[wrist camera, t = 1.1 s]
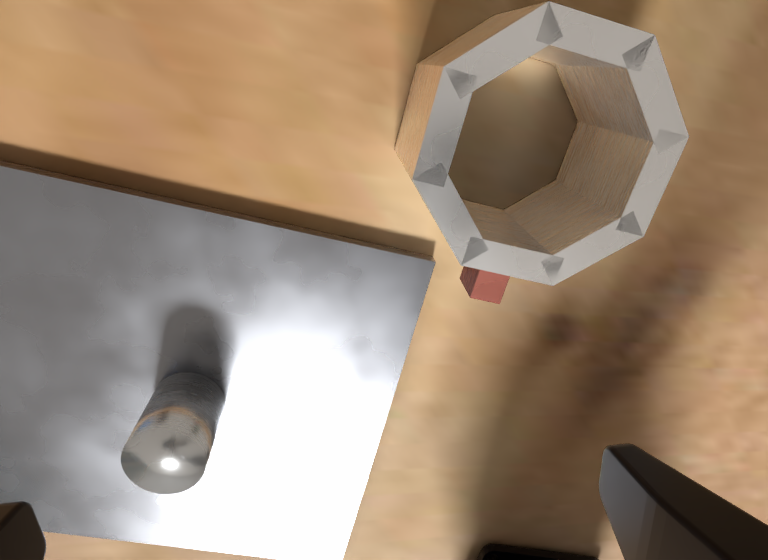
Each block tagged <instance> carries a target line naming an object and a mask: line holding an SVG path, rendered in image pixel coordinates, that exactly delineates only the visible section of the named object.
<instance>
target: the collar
mask: <svg viewBox="0 0 768 560" xmlns="http://www.w3.org/2000/svg"><path fill="white" fill-rule="evenodd" d="M527 58H533V59H536V60H539V61H543V62H546V63H550V64H553V65H555V67H556V70H557V72H558V75H559V77H560V79H561V82H562V84H563V87H564V89H565V91H566V94H567V96H568V99H569V101H570V103H571V106H572V108H573V111H574V113H575V115H576V118H577V120H578V122H577V125H576V128H575V130H574V133H573V136H572V138H571V141H570V144H569V146H568V149H567V152H566V154H565V157H564V159H563V162H562V165H561V167H560V170H559V173H558V175H557V178H556V180H555V181H553V182H551V183H550V184H548V185H546V186H544V187H543V188H541V189H539V190H537V191H536V192H534V193H532V194H530V195H529V196H527V197H525V198H523V199H522V200H520V201H518V202H516V203H515V204H513V205H511V206H509V207H508V208H506V209H504V210H503V209H499V208H495V207H491V206H487V205H483V204H479V203H475V202H470V201H466V200H462V199H461V197H460V196H459V194H458V192H457V190H456V188H455V186H454V184H453V183H452V181H451V179H450V177H449V175H448V172H449V169H450V166H451V162H452V159H453V156H454V152H455V149H456V146H457V143H458V139H459V136H460V133H461V129H462V126H463V123H464V119H465V116H466V113H467V110H468V106H469V103H470V100H471V96H472V93H473V91H475V90H476V89H478V88H480V87H481V86H483V85H485V84H486V83H488V82H489V81H491V80H493V79H494V78H496V77H498V76H499V75H501V74H503V73H504V72H506V71H507V70H509V69H511V68H512V67H514V66H516V65H517V64H519V63H521V62H522V61H524V60H525V59H527ZM688 138H689V135H688V132H687V129H686V126H685V123H684V120H683V117H682V114H681V111H680V108H679V105H678V102H677V99H676V96H675V93H674V90H673V87H672V84H671V81H670V78H669V75H668V72H667V69H666V66H665V63H664V60H663V57H662V54H661V51H660V48H659V45H658V42H657V39H656V36H655V35H654V34H651V33H648V32H645V31H641V30H638V29H635V28H632V27H629V26H626V25H623V24H619V23H616V22H613V21H610V20H607V19H604V18H601V17H597V16H594V15H591V14H588V13H585V12H582V11H579V10H575V9H572V8H569V7H566V6H563V5H560V4H557V3H553V2H550V1H547V2H543V3H539V4H536V5H532V6H528V7H524V8H520V9H516V10H512V11H508V12H505V13H501V14H497V15H494V16H492V17H490V18H489V19H487V20H486V21H484V22H482V23H481V24H479V25H478V26H476V27H474V28H473V29H471V30H470V31H468V32H466V33H465V34H463V35H462V36H460V37H459V38H457V39H455V40H454V41H452V42H451V43H449V44H447V45H446V46H444V47H443V48H441V49H439V50H438V51H436V52H435V53H433V54H431V55H430V56H428V57H427V58H425V59H424V60H422V61H420V62H419V63H417V65H416V69H415V73H414V76H413V80H412V84H411V88H410V92H409V95H408V99H407V103H406V107H405V111H404V114H403V118H402V122H401V126H400V130H399V134H398V137H397V141H396V145H395V149H394V150H395V152H396V153H397V155H398V157H399V159H400V160H401V162H402V164H403V166H404V167H405V169H406V171H407V173H408V174H409V176H410V178H411V180H412V181H413V183H414V185H415V187H416V188H417V190H418V192H419V194H420V195H421V197H422V199H423V201H424V202H425V204H426V206H427V208H428V209H429V211H430V213H431V215H432V216H433V218H434V220H435V222H436V223H437V225H438V227H439V228H440V230H441V232H442V234H443V235H444V237H445V239H446V241H447V242H448V244H449V246H450V247H451V249H452V251H453V253H454V254H455V256H456V258H457V259H458V261H459V263H460V265H461V266H464V267H463V270H462V273H461V276H460V280H461V282H462V284H463V285H464V287H465V289H466V291H467V293H468V295H469V296H470V298H474V299H478V300H483V301H488V302H493V303H497V304H500V302H501V299H502V296H503V294H504V291H505V288H506V285H507V283H508V280H509V277H510V276H511V277H515V278H520V279H524V280H529V281H533V282H538V283H542V284H547V285H551V286H554V285H556V284H557V283H559V282H561V281H563V280H565V279H567V278H568V277H570V276H572V275H574V274H576V273H578V272H580V271H581V270H583V269H585V268H587V267H589V266H591V265H592V264H594V263H596V262H598V261H600V260H602V259H603V258H605V257H607V256H609V255H611V254H613V253H614V252H616V251H618V250H620V249H622V248H624V247H626V246H627V245H629V244H631V243H633V242H635V241H637V240H638V239H640V238H642V237H644V235H645V233H646V230H647V228H648V226H649V224H650V222H651V219H652V217H653V215H654V213H655V211H656V208H657V206H658V204H659V202H660V200H661V197H662V195H663V193H664V191H665V189H666V186H667V184H668V182H669V180H670V178H671V176H672V173H673V171H674V169H675V167H676V165H677V162H678V160H679V158H680V156H681V154H682V151H683V149H684V147H685V145H686V143H687V140H688Z"/></svg>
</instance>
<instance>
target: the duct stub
mask: <svg viewBox="0 0 768 560" xmlns="http://www.w3.org/2000/svg"><path fill="white" fill-rule="evenodd" d="M434 266H435V260H434V258H433V256H428V255H424V254H419V253H415V252H410V251H406V250H401V249H397V248H392V247H388V246H383V245H379V244H374V243H370V242H365V241H361V240H356V239H352V238H347V237H343V236H338V235H334V234H329V233H325V232H320V231H316V230H311V229H307V228H302V227H298V226H293V225H289V224H285V223H280V222H276V221H271V220H267V219H262V218H258V217H253V216H249V215H244V214H240V213H235V212H231V211H226V210H222V209H217V208H213V207H208V206H204V205H199V204H195V203H190V202H186V201H181V200H177V199H172V198H168V197H163V196H159V195H154V194H150V193H145V192H141V191H136V190H132V189H127V188H123V187H119V186H114V185H110V184H105V183H101V182H96V181H92V180H87V179H83V178H78V177H74V176H69V175H65V174H60V173H56V172H51V171H47V170H42V169H38V168H33V167H29V166H24V165H20V164H15V163H11V162H6V161H2V160H0V504H1V503H8V502H18V501H25V502H28V503H29V504H31V505H32V507H33V509H34V512H35V514H36V517H37V519H38V522H39V524H40V527H41V529H42V531H44V532H53V533H61V534H70V535H78V536H87V537H95V538H104V539H112V540H120V541H129V542H137V543H146V544H154V545H163V546H171V547H180V548H188V549H196V550H205V551H213V552H222V553H230V554H239V555H247V556H256V557H264V558H272V559H281V560H342V559H343V556H344V553H345V549H346V546H347V543H348V540H349V537H350V533H351V530H352V527H353V524H354V521H355V517H356V514H357V511H358V508H359V505H360V502H361V498H362V495H363V492H364V489H365V486H366V482H367V479H368V476H369V473H370V470H371V466H372V463H373V460H374V457H375V454H376V451H377V447H378V444H379V441H380V438H381V435H382V431H383V428H384V425H385V422H386V419H387V415H388V412H389V409H390V406H391V403H392V399H393V396H394V393H395V390H396V387H397V384H398V380H399V377H400V374H401V371H402V368H403V364H404V361H405V358H406V355H407V352H408V348H409V345H410V342H411V339H412V336H413V333H414V329H415V326H416V323H417V320H418V317H419V313H420V310H421V307H422V304H423V301H424V297H425V294H426V291H427V288H428V285H429V282H430V278H431V275H432V272H433V269H434Z"/></svg>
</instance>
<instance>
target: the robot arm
mask: <svg viewBox="0 0 768 560" xmlns="http://www.w3.org/2000/svg"><path fill="white" fill-rule="evenodd" d="M599 493H600V498H601V501H602V503H603V506H604V508H605V511H606V513H607V516H608V519H609V521H610V524H611V526H612V529H613V531H614V534H615V536H616V539H617V541H618V544H619V546H620V549H621V551H622V554H623V556H624V559H625V560H768V525H766V524H765V523H763V522H761V521H760V520H758V519H756V518H755V517H753V516H752V515H750V514H748V513H747V512H745V511H743V510H742V509H740V508H738V507H737V506H735V505H733V504H732V503H730V502H728V501H727V500H725V499H723V498H722V497H720V496H718V495H717V494H715V493H713V492H712V491H710V490H708V489H707V488H705V487H703V486H702V485H700V484H698V483H697V482H695V481H693V480H692V479H690V478H688V477H687V476H685V475H683V474H682V473H680V472H678V471H677V470H675V469H673V468H672V467H670V466H668V465H667V464H665V463H663V462H662V461H660V460H658V459H657V458H655V457H653V456H652V455H650V454H648V453H647V452H645V451H643V450H642V449H640V448H638V447H637V446H635V445H633V444H617V445H609V446H607V447H606V448H605V449H604V451H603V456H602V464H601V471H600V479H599ZM45 552H46V540H45V537H44V534H43V532H42V529H41V527H40V524H39V522H38V519H37V517H36V514H35V512H34V509H33V507H32V505H31V504H29V503H28V502H25V501H18V502H8V503H1V504H0V560H44V556H45ZM477 560H599V559H597V558H595V557H588V556H581V555H573V554H566V553H558V552H550V551H543V550H535V549H528V548H520V547H513V546H505V545H497V544H489V545H486V546H485V547H483V548H482V550H481V552H480V554H479V556H478V559H477Z"/></svg>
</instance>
